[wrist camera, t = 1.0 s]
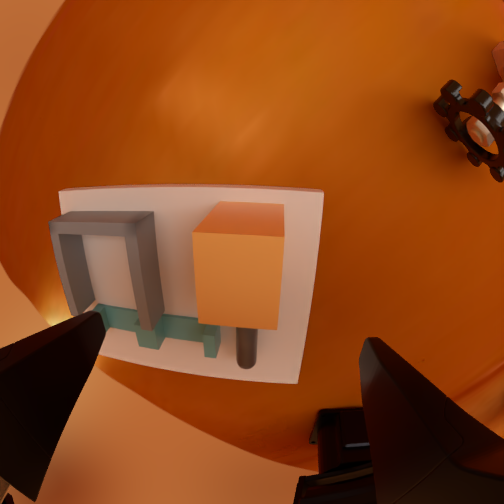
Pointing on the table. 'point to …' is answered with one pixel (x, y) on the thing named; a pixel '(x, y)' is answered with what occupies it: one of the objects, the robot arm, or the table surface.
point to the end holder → (138, 252)
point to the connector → (240, 270)
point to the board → (183, 278)
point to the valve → (477, 119)
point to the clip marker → (185, 333)
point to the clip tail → (122, 320)
